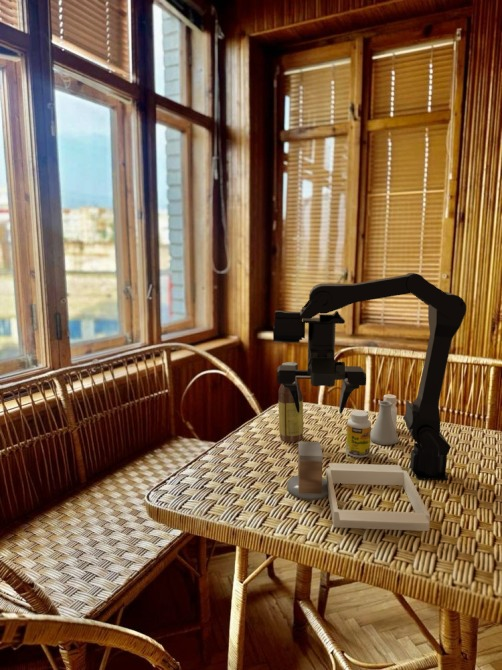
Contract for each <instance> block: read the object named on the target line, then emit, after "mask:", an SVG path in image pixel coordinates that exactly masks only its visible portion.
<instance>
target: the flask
mask: <svg viewBox="0 0 502 670" xmlns="http://www.w3.org/2000/svg"><path fill="white" fill-rule="evenodd" d="M378 405H379V410H378V413H377V414H378V415H377V418H376V420H375V422H374V425H373V427H371V436H370V442H373V443H376V444H378V445H380V446H386V445H387V446H388V445H391V446H392V445H395V444H398V443H399V442H400V439H399V436H398V433H397V429H396V430H395V427H394V424H393V420H392V416H391V406H392V405H393V404H392V403H391V402H388V401H384V400H381V401H379V402H378Z"/></svg>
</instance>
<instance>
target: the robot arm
mask: <svg viewBox="0 0 502 670" xmlns="http://www.w3.org/2000/svg"><path fill="white" fill-rule="evenodd" d="M408 294H409V295H410V294H412V295H413V296H414V297H416V298H417V299H418V300H420V301H421V302H422V303H424V304H425V305H427V307H428V308H427V311H428V316H427V320H428V326H429V336H428V343H427V348H426V351H425V352H426V353H425V357H424V362H423V367H422V372H421V377H420V383H419V387H418V392H417V393H418V394H417V396H416V398H415V400H414V401H413V402H412V403H411V402H409V401H407V402H406V404H405V405H406V409H405V414H404V415H403V417H402V418H403V420H404V422H405V426H406V428H407V430H408V432H409V434H410V435H411V437H412V439H413V441H414V443H413V449H411V450H410V461H409V462H410V463H409V468H410V469H411V471H412V473H414V475H415V477H416V478H417V480H435V481H436V480H437V481H448V480H449V477H448V475H447V474H446V472H447V460H448V455H449V452H450V449H451V448H452V446H451V445H450V444H449V442H448V440H447V439H446V438H445V436H444V435H443V433H442V432H441V413H440V407H439V405H440V404H439V403H440V398H441V393H442V389H443V385H444V379H445V375H446V369H447V364H448V360H449V355H450V351H451V346H452V341H453V338H454V337H455V335H456V334H457V332H458V331H459V329H460V328H461V325H462V323H463V322H464V318H465V316H466V314H467V303H466V302H465V300H464V299H463V298H462V297H461V296H459V295H458V294H457V295H456V294H454V293H451V292H448V291H443V289H441V288H439V287H437V286H436V285H433V284H432V283H431V282H430V281H428V280H427V279H425V277H423V276H422V275H421V274H418V273H416V272H408V273H406V274H403V275H396V276H391V277H385V278H378V279H374V280H373V279H372V280H368V281H362V282H356V283H329V282H327V283H318V284H316V285H314V286H313V287H312V288H311V290H310V291H309V294H308V300H307V302H306V303H305V304H304V306H302V307H301V309H300V310H299V311H284V310H275V312H274V323H273V327H272V336H273V340H272V341H273V343H288V344H289V343H290V344H291V343H292V344H295V343H297V344H300V341H302V340H303V339H305V338H306V324H308V326H307V335H308V336H307V365H306V366H307V368H306V369H298V370H295V365H282V364H280V365H279V366H278V367H277V371H276V373H277V374H276V383H277V384H278V385H281V384H283V387H287V388H288V389H289V390H290V392H291V394H292V396H293V399H294V403H295V406H296V409H297V412H298V413H299V410H300V406H299V397H298V389H297V380H296V379H298V380H299V379H301V380H308V379H309V380H310V385H311V386H313V387H321V386H322V387H328V388H329V387H330V388H331V387H332V388H333V387H334V386H335V385H336V381H342V382H341V390H340V397H339V404H338V405H339V407H338V408H339V414H340V415H342V414H343V412H344V410H345V409H344V408H345V407H346V404H347V402H348V400H349V397H350V396H351V394H352V392H353V391H354V390H359V389H360V386H367V373H366V372H365V370H364V369H363V367H361V366H359V365H358V366H355V365H354V366H353V365H349V366H347V365H346V363H345V361H336V360H335V356H336V354H335V352H336V351H335V350H336V326H337V325H336V324H341V325H343V324H345V323H346V320H345V319H344V317H343V316H342V315H340V313H339V310H340V309H343V308H345V307H347V306H349V305H352V304H356V303H360V302H367V301H372V300H378V299H384V298H390V297H395V296H396V297H397V296H402V295H408ZM334 311H335V312H334ZM331 312H334V313H332V314H328V313H331ZM317 315H319V316H318V317H317V318H315V316H317Z"/></svg>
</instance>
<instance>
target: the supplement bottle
mask: <svg viewBox="0 0 502 670" xmlns="http://www.w3.org/2000/svg"><path fill="white" fill-rule="evenodd" d="M371 431H372V422H371V421H370V420H369V413H368V412H367V411H365V410H364V411H363V410H360V409H359V410H357V409H356V410H353V411H351V412H350V418H348V420H347V422H346V441H345V442H346V443H345V444H346V445H345V452H346V453H347V455H349V456H351V457H352V458H353V457H354V458H358V459H359V458H360V459H361V458H365V457H368V456H369V455H370V449H371V448H370V447H371V439H370V436H371Z"/></svg>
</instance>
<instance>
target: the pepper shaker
mask: <svg viewBox="0 0 502 670" xmlns="http://www.w3.org/2000/svg"><path fill="white" fill-rule="evenodd" d="M383 401H388V402H391V403H392V404H393V405H392V406H391V416H392V420H393V424H394V427H395V430H396V431H397V420H398V419H397V417H398V407H397V406H396V404H397V396H396V395H394V394H389V393H388V394H384V395H383Z"/></svg>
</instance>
